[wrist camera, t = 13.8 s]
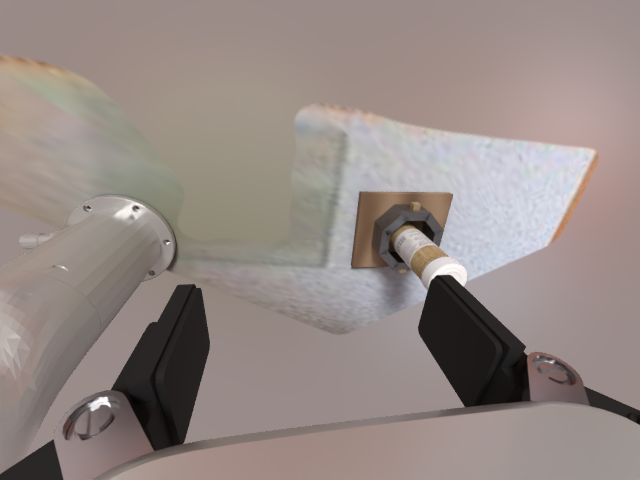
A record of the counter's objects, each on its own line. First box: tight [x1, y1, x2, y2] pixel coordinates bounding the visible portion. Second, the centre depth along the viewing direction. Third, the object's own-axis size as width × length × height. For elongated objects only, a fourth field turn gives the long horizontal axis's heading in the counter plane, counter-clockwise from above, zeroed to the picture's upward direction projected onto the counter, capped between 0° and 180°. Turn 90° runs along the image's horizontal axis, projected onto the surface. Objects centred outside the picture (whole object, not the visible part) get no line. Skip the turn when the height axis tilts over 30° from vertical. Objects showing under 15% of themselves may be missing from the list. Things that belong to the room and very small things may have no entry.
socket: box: [371, 202, 444, 273], centre depth 40 cm, size 9×11×4 cm
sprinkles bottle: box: [389, 221, 467, 290], centre depth 36 cm, size 5×5×13 cm
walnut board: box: [351, 192, 453, 267], centre depth 42 cm, size 14×12×1 cm
